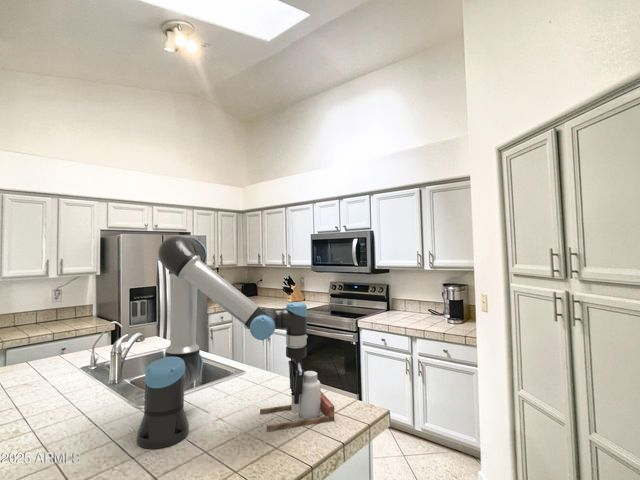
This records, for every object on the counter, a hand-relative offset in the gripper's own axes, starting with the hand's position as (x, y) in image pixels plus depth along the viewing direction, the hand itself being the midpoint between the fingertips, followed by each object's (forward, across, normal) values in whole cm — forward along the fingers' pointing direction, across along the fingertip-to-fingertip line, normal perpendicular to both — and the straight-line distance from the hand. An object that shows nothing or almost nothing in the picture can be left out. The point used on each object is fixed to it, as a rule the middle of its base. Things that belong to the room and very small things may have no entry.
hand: (295, 411), depth 122 cm
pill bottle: (+2, 0, -6) cm, 6 cm away
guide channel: (+2, 0, 0) cm, 2 cm away
